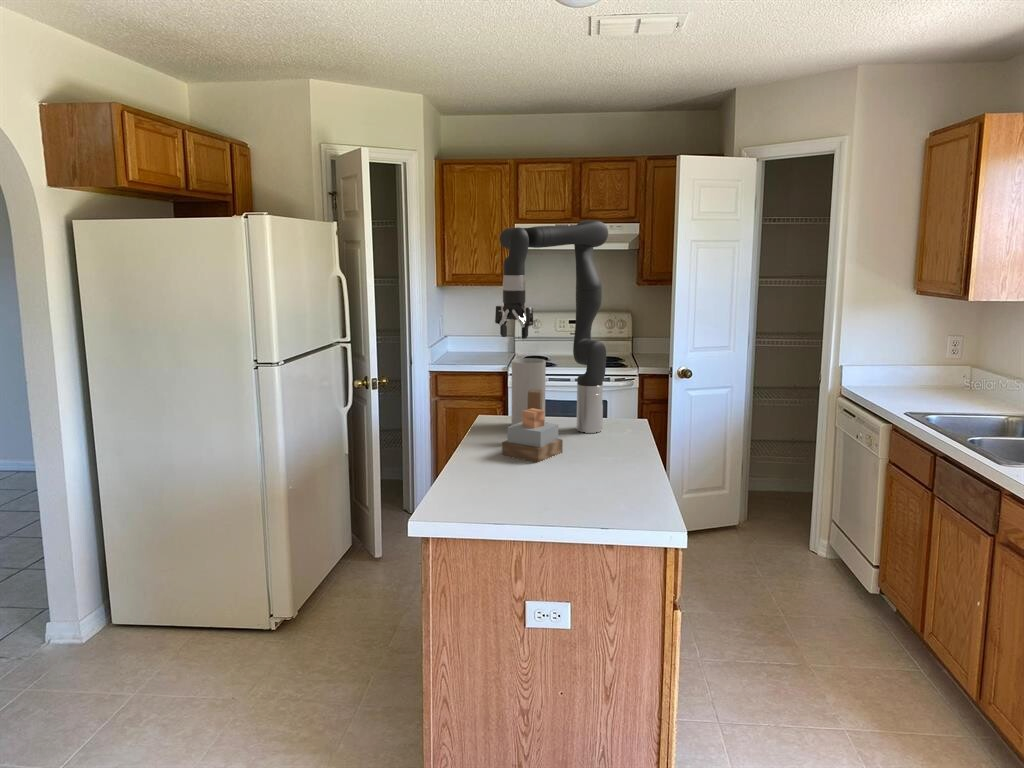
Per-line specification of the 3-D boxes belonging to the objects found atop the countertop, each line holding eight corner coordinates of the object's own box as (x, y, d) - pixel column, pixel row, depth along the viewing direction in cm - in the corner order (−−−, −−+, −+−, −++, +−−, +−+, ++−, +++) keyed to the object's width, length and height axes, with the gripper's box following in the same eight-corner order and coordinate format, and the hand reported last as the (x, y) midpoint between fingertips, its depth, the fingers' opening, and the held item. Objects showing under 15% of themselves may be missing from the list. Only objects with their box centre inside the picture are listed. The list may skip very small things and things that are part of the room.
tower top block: (526, 434, 246) (526, 419, 245) (558, 439, 240) (558, 424, 239) (507, 442, 236) (507, 427, 235) (540, 447, 230) (540, 431, 229)
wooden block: (554, 441, 255) (555, 390, 252) (553, 444, 251) (554, 392, 248) (529, 440, 257) (529, 389, 253) (527, 443, 252) (527, 391, 249)
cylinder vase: (550, 425, 278) (551, 360, 274) (534, 432, 268) (534, 364, 263) (522, 421, 285) (522, 357, 280) (505, 428, 274) (505, 361, 270)
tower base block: (527, 447, 249) (527, 433, 248) (562, 454, 241) (562, 439, 240) (502, 457, 238) (502, 441, 237) (538, 464, 229) (538, 448, 229)
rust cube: (532, 423, 241) (532, 408, 240) (544, 425, 237) (544, 410, 236) (522, 425, 237) (522, 410, 236) (534, 428, 234) (534, 412, 233)
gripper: (538, 289, 244) (537, 338, 247) (504, 287, 252) (504, 335, 255) (524, 290, 238) (524, 340, 241) (490, 288, 247) (490, 337, 249)
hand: (514, 337), depth 248 cm, fingers open, 8 cm apart
